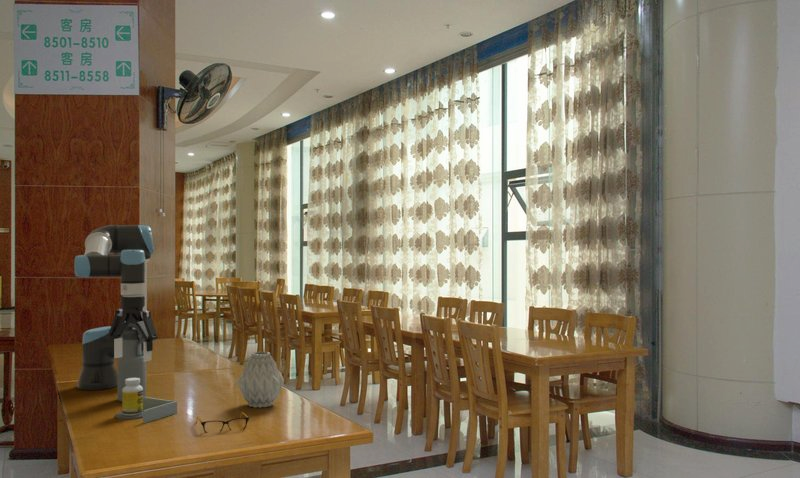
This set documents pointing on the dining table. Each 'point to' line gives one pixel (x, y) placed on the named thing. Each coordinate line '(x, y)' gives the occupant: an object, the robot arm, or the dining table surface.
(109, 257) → the robot arm
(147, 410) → the fence end
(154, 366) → the dining table surface
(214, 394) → the dining table surface
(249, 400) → the vase
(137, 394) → the pill bottle
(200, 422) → the eyeglasses
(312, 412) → the dining table surface
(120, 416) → the coaster
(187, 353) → the dining table surface
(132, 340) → the water bottle
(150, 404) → the fence long
